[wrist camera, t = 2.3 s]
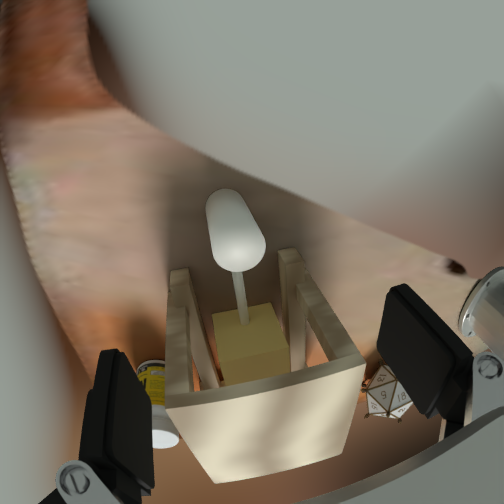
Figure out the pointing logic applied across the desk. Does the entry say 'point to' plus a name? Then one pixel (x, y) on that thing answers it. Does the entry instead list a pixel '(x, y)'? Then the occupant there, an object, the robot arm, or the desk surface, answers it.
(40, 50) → the desk surface
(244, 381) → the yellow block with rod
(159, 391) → the supplement bottle
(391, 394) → the game die
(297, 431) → the birch shelf
